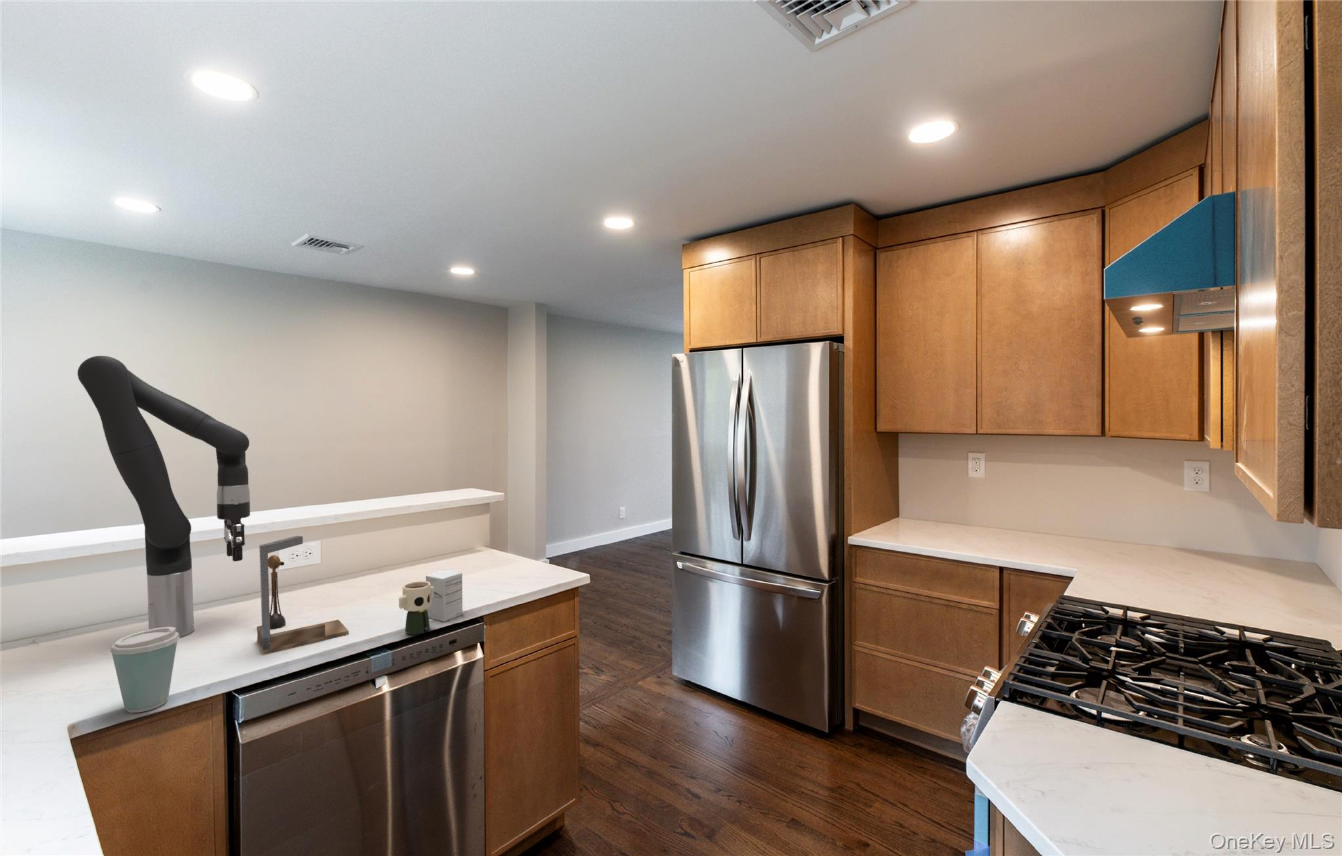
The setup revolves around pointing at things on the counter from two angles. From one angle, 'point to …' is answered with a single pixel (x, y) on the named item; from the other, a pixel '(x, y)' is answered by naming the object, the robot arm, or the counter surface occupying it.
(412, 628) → the character mug
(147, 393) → the robot arm
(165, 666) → the disposable coffee cup
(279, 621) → the wooden tabletop sculpture
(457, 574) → the supplement box
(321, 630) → the stand
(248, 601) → the counter surface
